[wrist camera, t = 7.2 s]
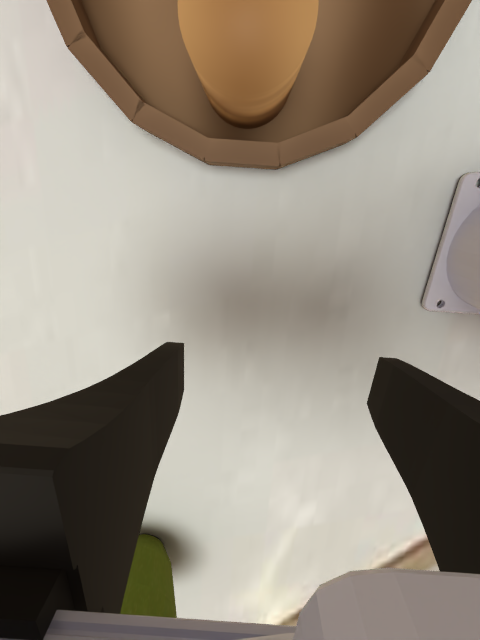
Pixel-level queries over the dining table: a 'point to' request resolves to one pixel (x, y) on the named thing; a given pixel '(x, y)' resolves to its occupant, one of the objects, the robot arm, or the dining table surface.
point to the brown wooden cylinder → (247, 53)
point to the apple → (150, 581)
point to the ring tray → (307, 92)
